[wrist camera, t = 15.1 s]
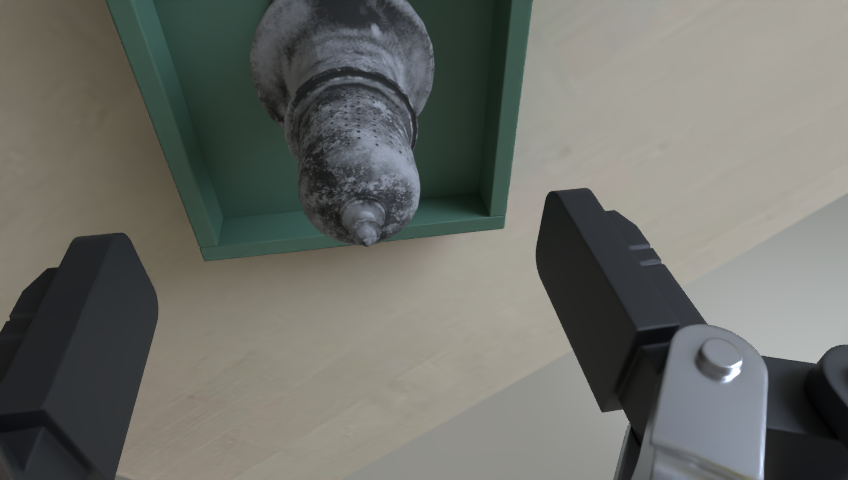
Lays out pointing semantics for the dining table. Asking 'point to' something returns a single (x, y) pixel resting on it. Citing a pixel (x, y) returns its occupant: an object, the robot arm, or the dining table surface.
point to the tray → (265, 140)
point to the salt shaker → (347, 108)
